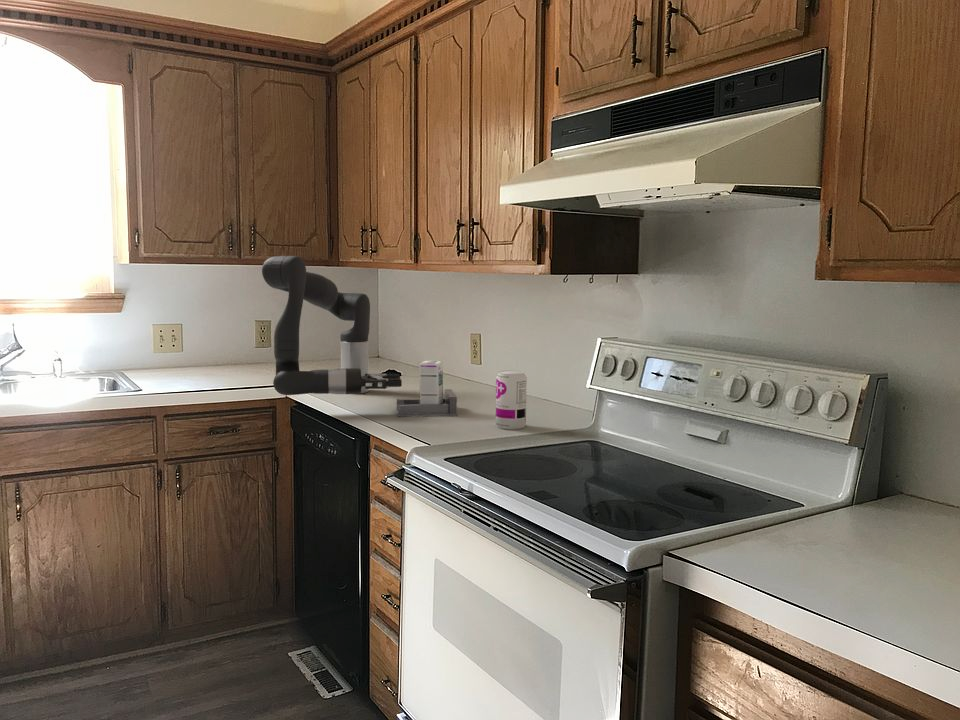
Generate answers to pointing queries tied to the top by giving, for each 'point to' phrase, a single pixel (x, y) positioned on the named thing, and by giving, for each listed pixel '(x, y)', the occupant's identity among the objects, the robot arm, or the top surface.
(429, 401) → the syrup box
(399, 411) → the bracket
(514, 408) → the supplement can
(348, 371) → the robot arm
